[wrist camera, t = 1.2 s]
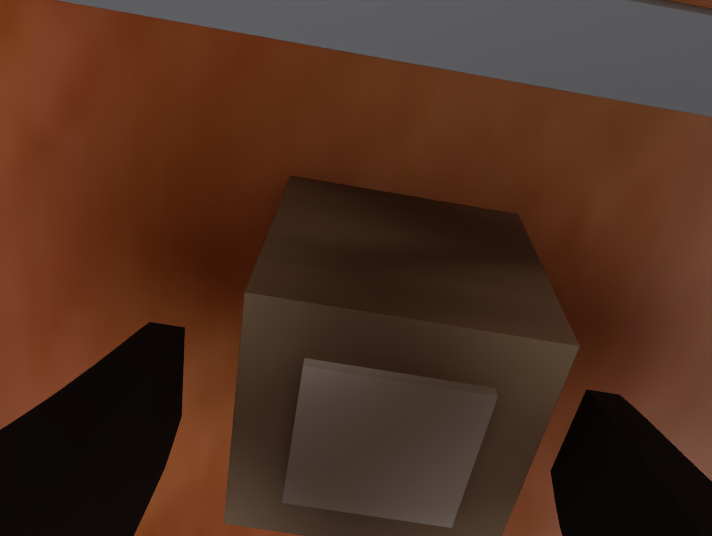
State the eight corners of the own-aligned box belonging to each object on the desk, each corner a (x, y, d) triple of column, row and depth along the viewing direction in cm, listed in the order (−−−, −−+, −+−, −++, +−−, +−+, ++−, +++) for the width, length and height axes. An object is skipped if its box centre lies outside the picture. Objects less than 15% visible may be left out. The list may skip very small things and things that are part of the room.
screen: (877, 39, 12) (1094, 86, 8) (843, 103, 12) (1030, 173, 9) (8, -123, 11) (-173, -148, 7) (15, -47, 11) (-150, -38, 8)
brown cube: (517, 212, 14) (583, 354, 9) (461, 389, 16) (492, 571, 11) (291, 174, 13) (242, 298, 9) (268, 358, 16) (221, 532, 11)
